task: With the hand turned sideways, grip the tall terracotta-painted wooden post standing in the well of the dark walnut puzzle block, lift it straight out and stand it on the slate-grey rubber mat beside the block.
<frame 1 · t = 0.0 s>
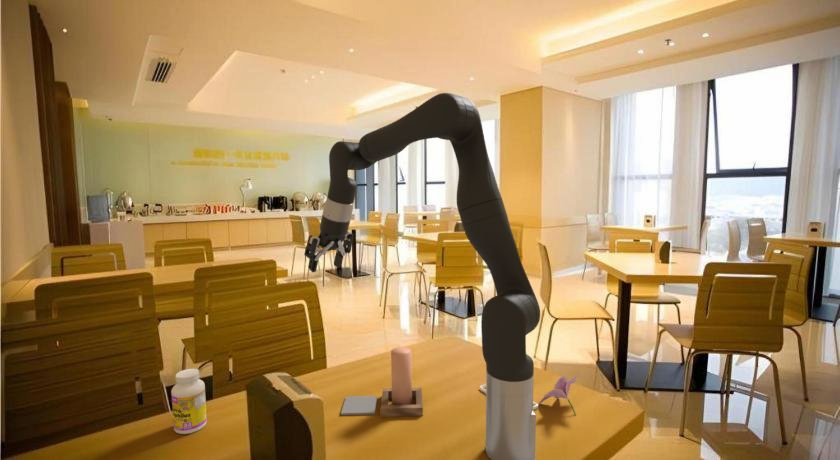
hand: (324, 268, 117), 31 cm above the table, tool tilted 20°, fingers open, 8 cm apart
mat: (359, 406, 104), on the table
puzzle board: (402, 405, 104), on the table
power bank: (507, 400, 107), on the table
supplement bottle: (190, 427, 96), on the table
lily: (561, 408, 103), on the table
post: (401, 378, 103), in the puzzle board
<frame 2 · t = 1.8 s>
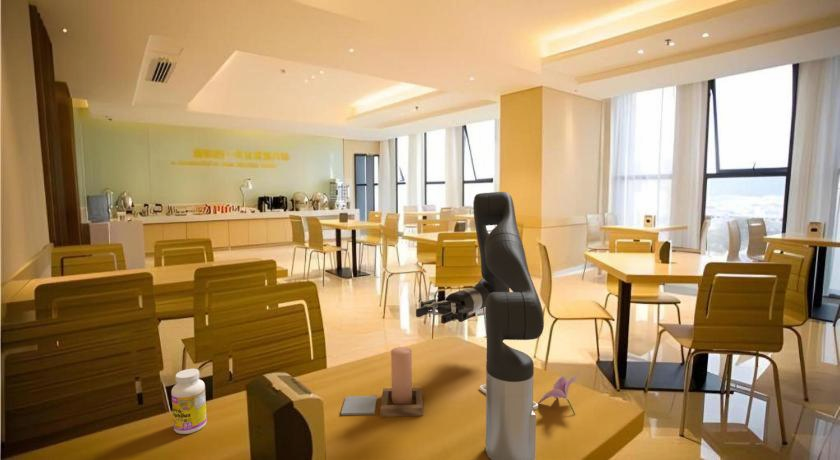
hand: (429, 316, 111), 20 cm above the table, tool horizontal, fingers open, 8 cm apart
nothing on the table moved.
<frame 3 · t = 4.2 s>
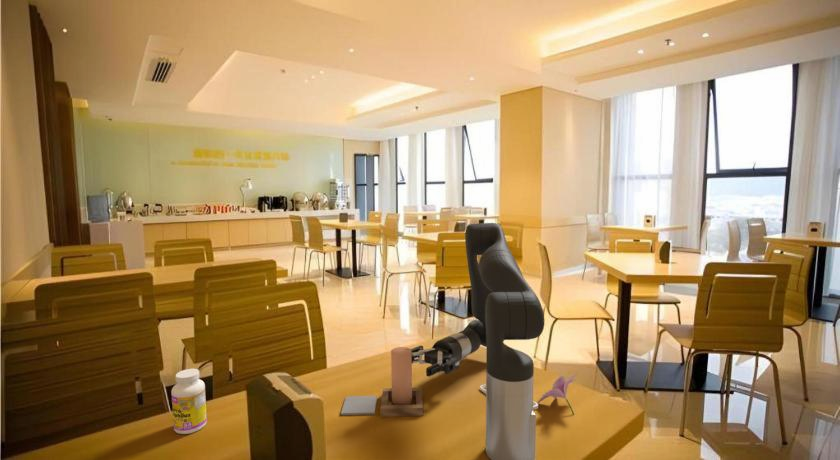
hand: (414, 368, 107), 8 cm above the table, tool horizontal, fingers open, 8 cm apart
nothing on the table moved.
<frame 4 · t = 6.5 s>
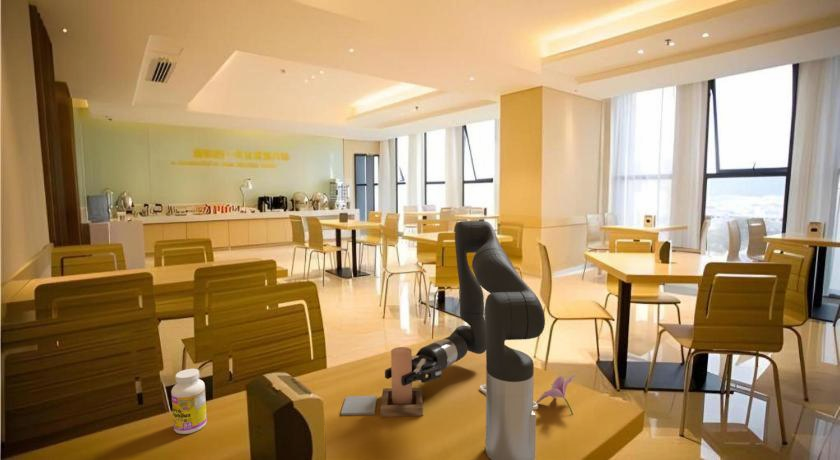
hand: (394, 378, 101), 8 cm above the table, tool horizontal, fingers closed on post, 5 cm apart
post: (401, 378, 103), in the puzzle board, touching gripper
everything else where it was.
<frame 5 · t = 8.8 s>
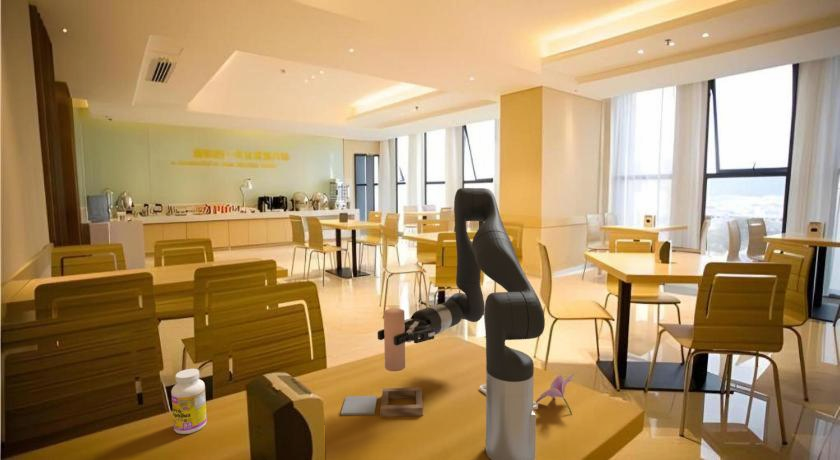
hand: (386, 338, 101), 18 cm above the table, tool horizontal, fingers closed on post, 5 cm apart
post: (394, 339, 103), point 17 cm above the table, touching gripper
everything else where it was.
when the fingers open (10 cm above the table, at t = 11.4 s): post drops 1 cm, resting on mat.
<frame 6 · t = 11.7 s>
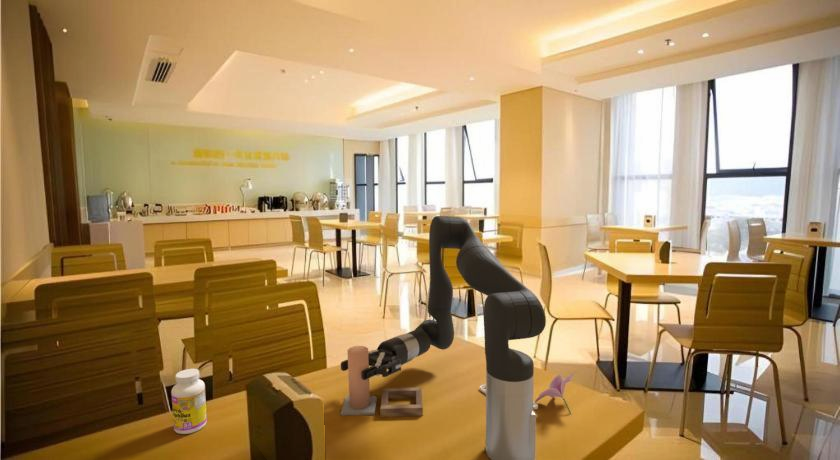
hand: (351, 371, 101), 10 cm above the table, tool horizontal, fingers open, 7 cm apart
post: (358, 377, 103), on the mat
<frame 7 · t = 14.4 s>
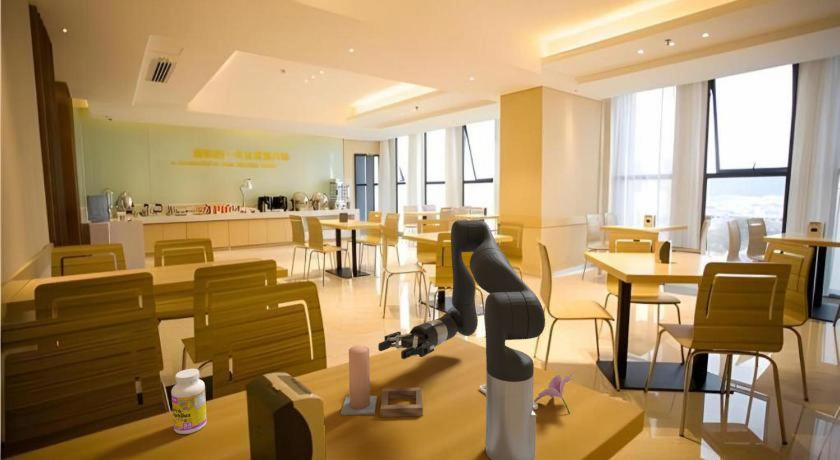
hand: (390, 351, 111), 11 cm above the table, tool horizontal, fingers open, 8 cm apart
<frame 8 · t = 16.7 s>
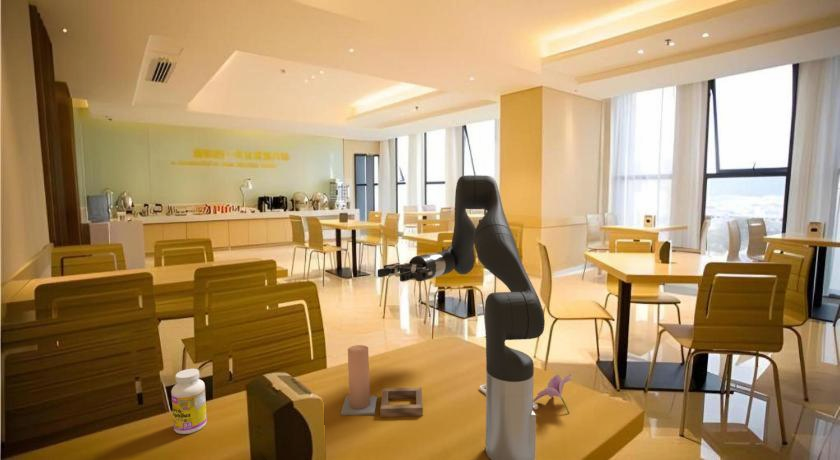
hand: (389, 275, 114), 30 cm above the table, tool horizontal, fingers open, 8 cm apart
at the end: post 0.1 cm off-centre on the mat, point 7.6 cm above the mat's base; post tilted 1°; the gripper is holding nothing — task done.
